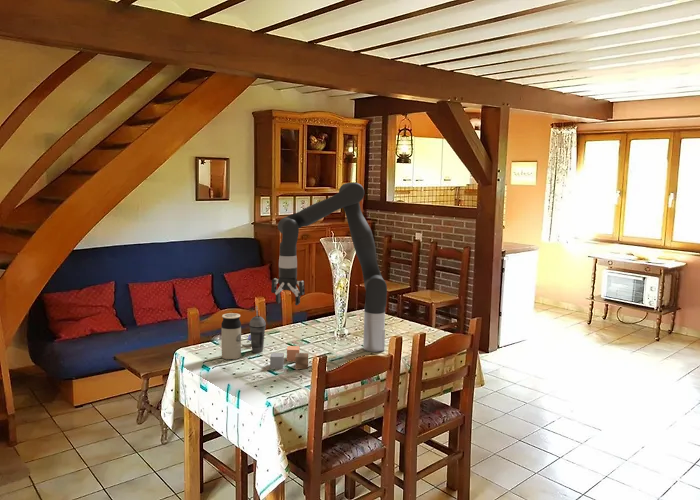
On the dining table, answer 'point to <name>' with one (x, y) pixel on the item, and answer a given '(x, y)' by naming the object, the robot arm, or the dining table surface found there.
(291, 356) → the terracotta block
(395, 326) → the dining table surface
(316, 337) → the dining table surface
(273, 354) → the slate block
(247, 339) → the geometric puzzle
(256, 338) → the beverage cup
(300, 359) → the walnut block
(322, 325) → the dining table surface
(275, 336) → the dining table surface
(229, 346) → the travel mug
